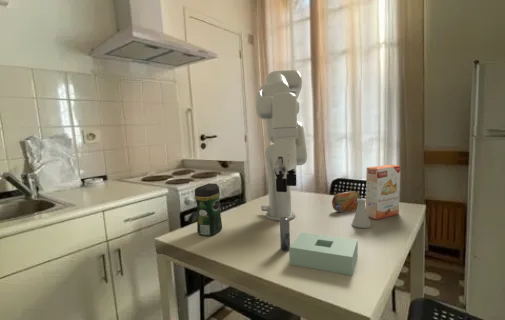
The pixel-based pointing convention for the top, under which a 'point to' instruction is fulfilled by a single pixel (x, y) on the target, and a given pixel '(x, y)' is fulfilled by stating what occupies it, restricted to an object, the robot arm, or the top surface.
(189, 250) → the top surface
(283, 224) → the peg
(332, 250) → the green block with hole
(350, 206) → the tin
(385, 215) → the cracker box
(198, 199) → the coffee jar
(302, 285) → the top surface
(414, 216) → the top surface
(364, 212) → the flask
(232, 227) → the top surface
